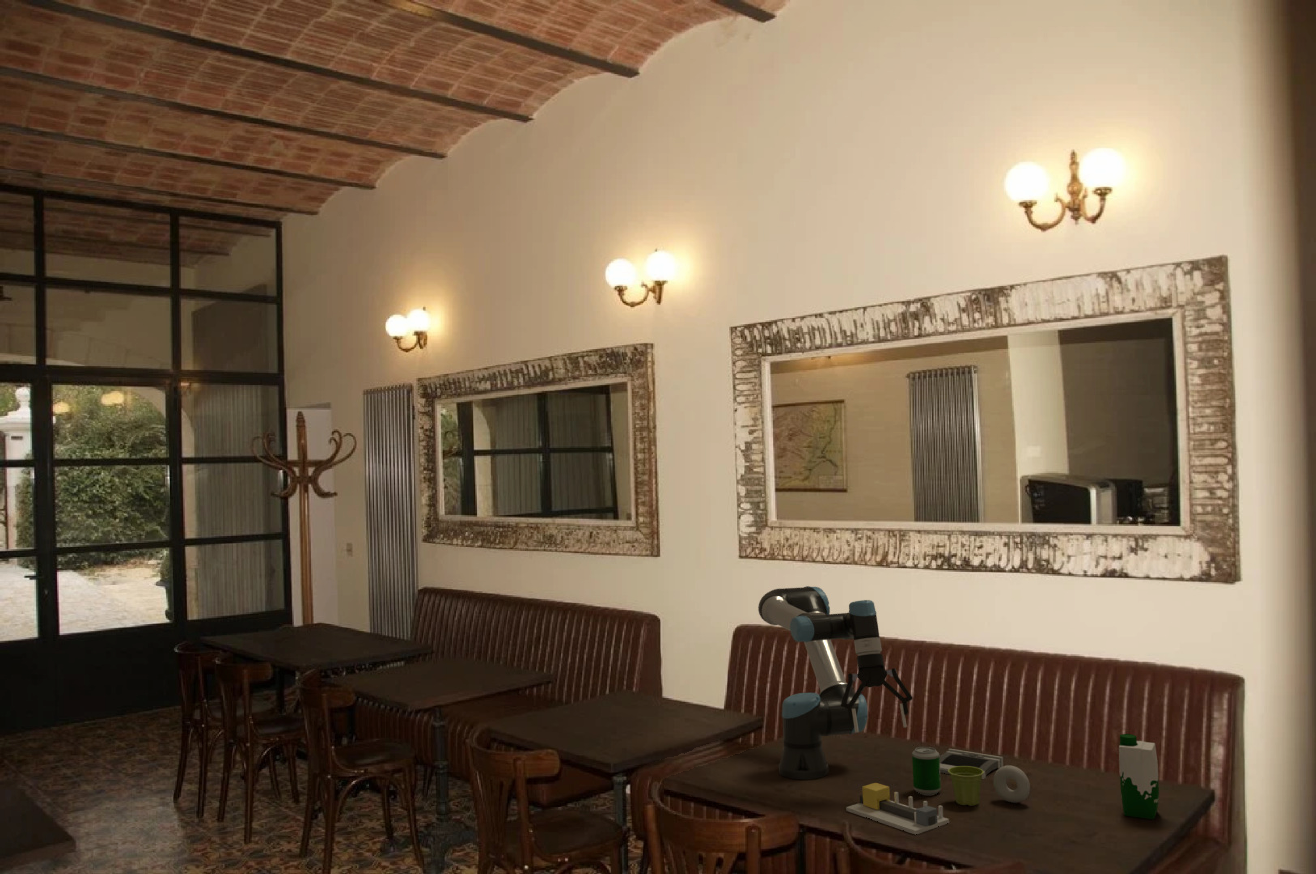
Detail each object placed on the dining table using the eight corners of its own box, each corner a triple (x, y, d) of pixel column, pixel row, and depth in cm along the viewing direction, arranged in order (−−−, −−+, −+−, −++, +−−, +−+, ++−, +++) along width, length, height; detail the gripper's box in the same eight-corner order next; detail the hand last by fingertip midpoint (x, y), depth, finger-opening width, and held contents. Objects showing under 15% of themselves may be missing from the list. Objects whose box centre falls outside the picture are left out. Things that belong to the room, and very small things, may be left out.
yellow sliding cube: (863, 805, 277) (862, 786, 277) (876, 801, 280) (875, 782, 280) (876, 809, 272) (876, 791, 273) (890, 805, 276) (889, 787, 276)
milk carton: (1124, 806, 272) (1120, 731, 273) (1161, 811, 268) (1157, 734, 268) (1119, 816, 265) (1115, 739, 266) (1158, 821, 260) (1154, 742, 261)
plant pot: (967, 810, 273) (965, 778, 274) (942, 801, 282) (940, 769, 282) (992, 804, 278) (991, 772, 278) (967, 795, 286) (966, 764, 286)
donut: (1032, 804, 276) (1031, 767, 277) (1028, 807, 274) (1026, 770, 274) (997, 797, 283) (995, 761, 283) (992, 801, 280) (990, 764, 281)
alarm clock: (1002, 757, 311) (981, 765, 299) (1003, 772, 311) (981, 782, 298) (950, 748, 322) (926, 756, 310) (950, 763, 322) (926, 772, 310)
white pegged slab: (846, 811, 276) (845, 793, 276) (879, 800, 284) (878, 784, 284) (915, 835, 257) (914, 816, 257) (949, 823, 264) (948, 805, 264)
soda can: (941, 796, 285) (940, 753, 286) (914, 796, 287) (912, 753, 287) (940, 788, 293) (938, 746, 293) (913, 787, 294) (911, 745, 294)
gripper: (824, 658, 295) (835, 734, 288) (912, 648, 289) (925, 725, 282) (828, 660, 302) (838, 734, 295) (913, 649, 296) (926, 725, 289)
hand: (880, 730), depth 289 cm, fingers open, 13 cm apart
